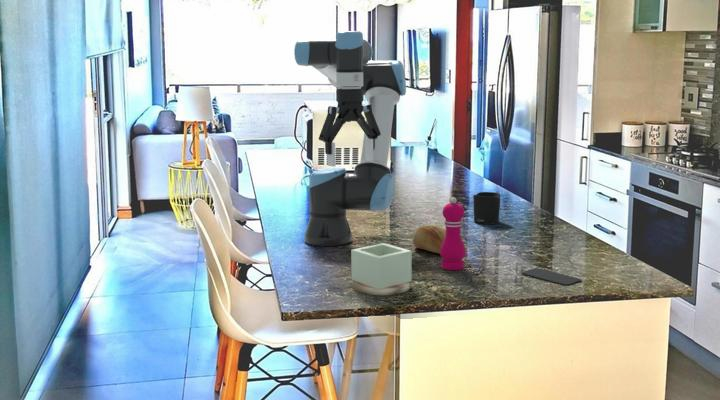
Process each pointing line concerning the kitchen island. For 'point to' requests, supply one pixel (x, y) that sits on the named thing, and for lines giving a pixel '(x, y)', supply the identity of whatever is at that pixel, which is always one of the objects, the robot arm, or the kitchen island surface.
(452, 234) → the pepper mill
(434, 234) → the bread roll
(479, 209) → the pen holder
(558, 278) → the phone
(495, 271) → the kitchen island surface
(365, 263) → the square ring
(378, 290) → the post stand
